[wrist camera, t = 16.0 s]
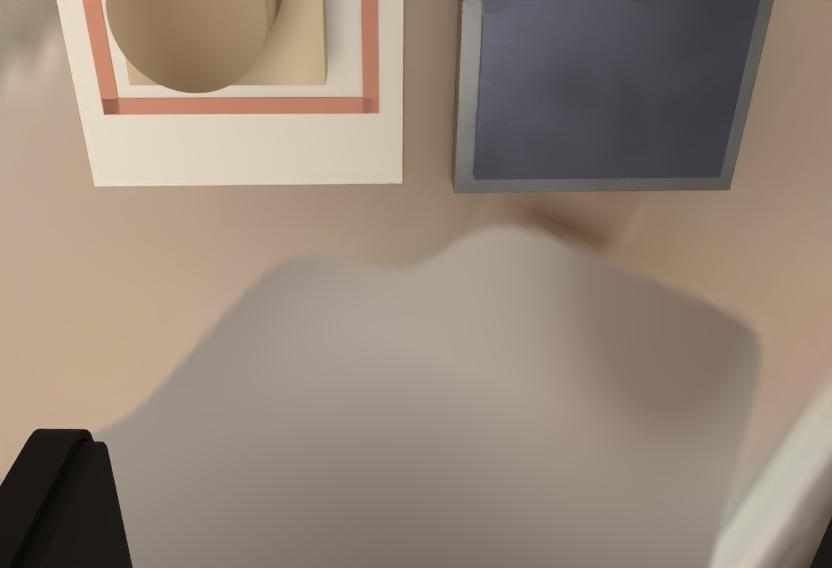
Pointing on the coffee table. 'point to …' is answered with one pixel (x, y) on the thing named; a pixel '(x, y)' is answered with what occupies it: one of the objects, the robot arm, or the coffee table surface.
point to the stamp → (221, 42)
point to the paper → (246, 111)
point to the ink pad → (603, 93)
